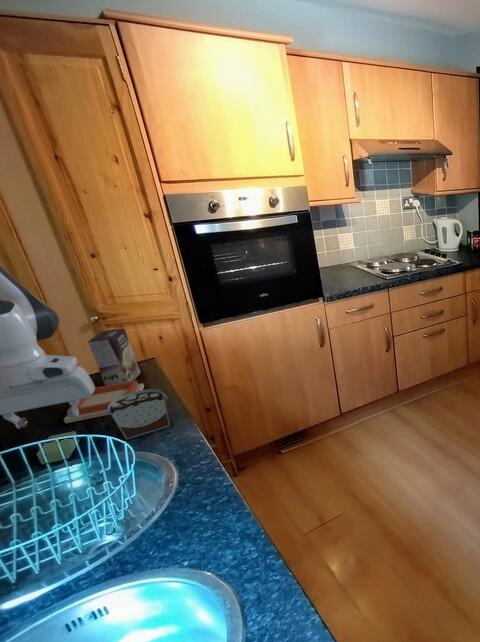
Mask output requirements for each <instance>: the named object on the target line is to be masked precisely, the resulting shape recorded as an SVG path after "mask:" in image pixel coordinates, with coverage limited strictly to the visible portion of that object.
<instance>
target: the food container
mask: <svg viewBox="0 0 480 642" xmlns="http://www.w3.org/2000/svg"><path fill="white" fill-rule="evenodd" d="M165 398H166V399H165ZM168 399H169V398H168V397H167V395H166V394H165V393H164V392H163V391H162V390H160V389H156V388H153V389H152V388H149V389H143V390H141V391H136V392H132V393H129V394H126V395H124V396H121V397H119V398H117V399H116V400H114V401H113V402H111V403H110V404H109V406H108V409H107V413H108V415H107V416H111V417H112V418H113V420H114V421H115V424H116V425H117V427H118V428H119V430H120V432H121V433H122V435H123V436H124V438H125V440H130V439H133V438H136V437H139V436H142V435H146V434H149V433H153V432H156V431H159V430H163V429H165V428H168V427H171V422H170V419H169V414H168V408H167V403H166V400H168ZM109 413H110V415H109Z"/></svg>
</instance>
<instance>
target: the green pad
mask: <svg viewBox="0 0 480 642" xmlns="http://www.w3.org/2000/svg"><path fill="white" fill-rule="evenodd" d="M70 435H77V436H78V433H77V432H76V431H75V430H73V431H69V432H68V431H67V432H63V433H59V434H54V435H49V436H48V438H47V439H50V438H57V437H63V436H70ZM59 443H60V446H61V448H62V451H63V453H64V455H65V458H66V459H65V460H68V459H70V457H71V456H72V455H73V453H74V451H75V449H76V448H77V446H76V444H75V439H64V440H61V441H60V442H59ZM78 443H80V438H79V439H78ZM57 444H58V442H57V441H54V442H50V443H45V442H44V443H43V444H42V446H41V448H42V447H43V450H44V454H45V456H46V458H47V461H48V463H47V464H50V463H54V462H61V461H64V460H63V458H62V457H61V454H60V451H59V448H58V445H57ZM36 456H37V458H38V460H39V462H40V464H41V465H46V464H45V462H44V460H43V457H42V454H41V451H40V449H39V450H38V451H37V453H36Z"/></svg>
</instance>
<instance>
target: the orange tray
mask: <svg viewBox="0 0 480 642" xmlns="http://www.w3.org/2000/svg"><path fill="white" fill-rule="evenodd" d="M144 388H145V385H144V383H138V380H136V379H135V380H134V381H130V382H124V383H118V384H113V385H107V386H106V385H102V386H95V391H94V392H93V394H92V395H91V396H90V397H89V398H85V399H80V401H79V404H78V407H77V408H78V411H79V415H78V416H76V417H71V418H70V417H69V415H68V414H66V416H65V417H64V418H63V423H64V424H70V423H75V422H80V421H85V420H88V419H89V420H90V419H94V418H99V417H105V416H108V413H107V409H108V406H109V404H110V403H111V402H113V401H114V400H116V399H117V398H119V397H121V396H124V395H126V394H129V393H132V392H136V391H141V390H144ZM72 407H73V405H70V406H69V408H68V409H67V411H68V410H69V409H70V408H72ZM109 416H111V414H110V413H109Z"/></svg>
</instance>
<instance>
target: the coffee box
mask: <svg viewBox="0 0 480 642" xmlns="http://www.w3.org/2000/svg"><path fill="white" fill-rule="evenodd" d="M87 343H88V345H89V348H90V350H91V353H92V355H93V358H94V360H95V363H96V365H97V368H98V370H99V373H100V376H101V378H102V380H103V383H104V386H107V385H113V384H118V383H124V382H130V381H135V380H136V379H137V378H138V377H139V376H140V374H141V370H140V367H139V364H138V363H137V359H136V356H135V354H134V350H133V348H132V345H131V343H130V340H129V337H128V334H127V332H126V329H125V328H116V329H109V330H102V331H100V332H98V333H97V334H96V335H94V336H93V337H92V338H91V339H89V340H88V341H87Z"/></svg>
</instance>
